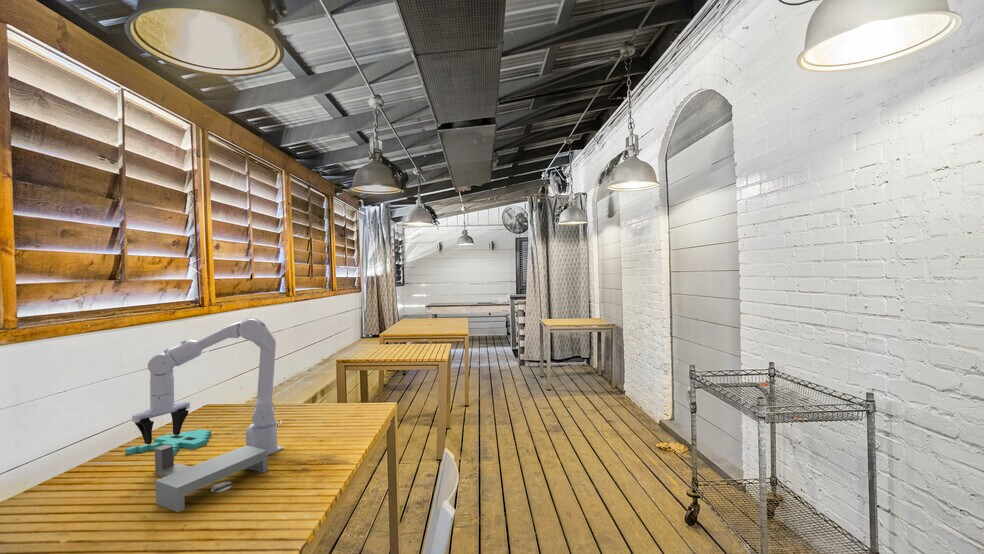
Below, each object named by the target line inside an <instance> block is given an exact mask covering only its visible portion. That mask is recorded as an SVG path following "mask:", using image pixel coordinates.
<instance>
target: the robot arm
mask: <svg viewBox="0 0 984 554" xmlns="http://www.w3.org/2000/svg"><path fill="white" fill-rule="evenodd" d="M239 337H241V338H243V339H244V340H247V341H249V342H252V343H254V345H256V346H258V347H259V349H260V351H259V363H258V365H259V366H258V377H257V378H258V382H257V395H256V404H255V405H254V408H253V414H252V417H251V421H252V423H251V424H249V426H248V427H247V428H246V431H245V446H246V445H247V446H251V447H255V448H260V449H264V450H267V454H268V456H269V455H272V454H273V453H276V452H278V451H281V450H282V449H284V446H281V445H278V428H277V427H278V425H277V424H278V422H277V421H276V420H277V419H276V418H275V419H274V414H275V412H276V411H275V410H276V408H275V405H274V403H273V393H274V380H275V379H274V377H275V374H274V373H275V364H276V363H275V361H276V348H277V347H276V345H277V343H276V342H277V341H276V339H275V337H274V336H273V334H272V333H271V331H270V330H269V329H268V327H267V325H266V323H264V322H262V321H261V320H260V319H258V318H256V317H249V318H246V319H245V320H241V321H237V322H235V323H232V324H229V325H227V326H225V327H223V328H220V329H219V330H217V331H215V332H213V333H211V334H209V335H207V336H205V337H203V338H200V339H199V340H194V339H189V340H187V339H184V340H182V341H180V344H178V345H176V346H174V347H172V348H166V349H163V352H161V353H159V354H156V355H154V356H153V357H152V358H151V359H149V361H148V363H147V369H148V371H149V377H150V380H149V401H150V402H149V403H150V405H149V409H147V410H145V411H142V412H138V413H136V414H131V415H132V416H131V419H132V421H131V422H132V423H134V425H135V426H136V427H137V428H138V431H140V434H141V436H142V439H143V442H144V444H146V445H150V444H153V443H152V442H153V433H152V432H153V427H154V423H155V421H152V420H151V419H152V418H156V417H160V416H164V415H168V414H170V415H171V422H172V434H173V435H180V433H181V430H182V427H183V424H184V421H185V420H186V418H187V416H188V415H189V410H188V409H191V404H190V401H183V402H178V403H175V377H174V368H175V367H180V366H181V365H184V364H186V363H188V362H190V361H192V360H194V359H196V358H198V357H200V356H201V355H202V352H203V350H205V349H207V348H210V347H211V346H213V345H216V344H218V343H220V342H223V341H224V340H227V339H229V338H231V339H239Z"/></svg>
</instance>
